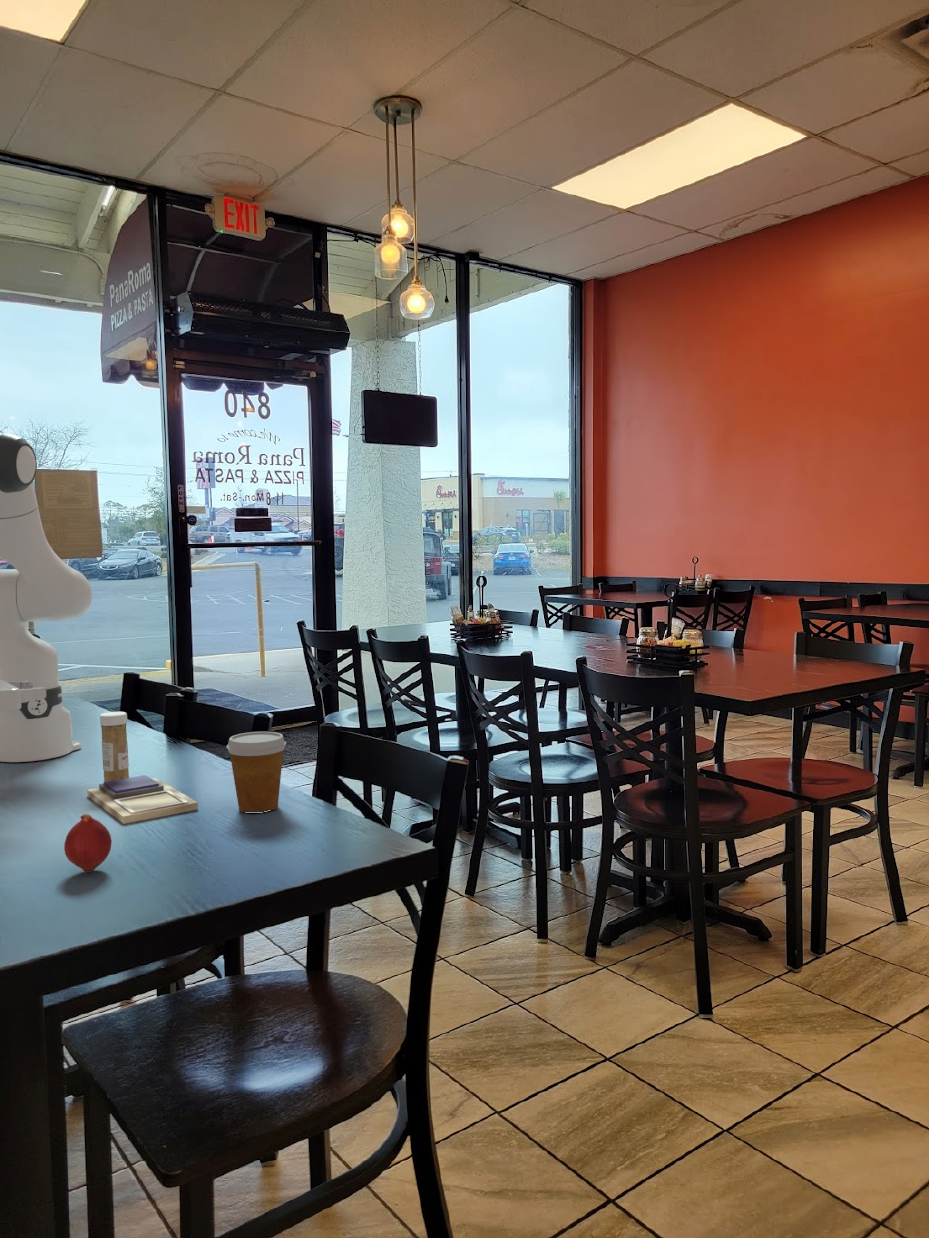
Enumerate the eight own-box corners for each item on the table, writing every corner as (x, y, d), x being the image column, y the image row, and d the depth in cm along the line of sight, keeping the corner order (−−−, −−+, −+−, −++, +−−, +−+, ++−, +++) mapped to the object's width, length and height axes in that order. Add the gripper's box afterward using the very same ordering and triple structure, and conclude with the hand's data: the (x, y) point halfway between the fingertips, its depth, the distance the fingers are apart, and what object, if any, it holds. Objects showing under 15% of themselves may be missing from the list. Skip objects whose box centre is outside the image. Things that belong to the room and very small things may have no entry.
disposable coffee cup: (216, 814, 145) (214, 741, 144) (250, 798, 154) (248, 729, 153) (267, 819, 142) (265, 745, 141) (298, 803, 151) (296, 733, 150)
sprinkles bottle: (132, 786, 162) (129, 713, 161) (106, 791, 159) (102, 716, 158) (126, 781, 166) (123, 709, 164) (100, 785, 163) (97, 712, 162)
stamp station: (87, 796, 156) (86, 782, 156) (156, 784, 163) (155, 771, 163) (123, 823, 140) (122, 809, 140) (197, 809, 148) (197, 795, 147)
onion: (78, 863, 123) (75, 806, 122) (119, 863, 123) (117, 806, 122) (57, 879, 117) (54, 819, 117) (101, 879, 117) (98, 819, 116)
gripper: (-44, 686, 137) (52, 677, 145) (-64, 672, 153) (24, 665, 161) (-42, 726, 137) (54, 715, 146) (-62, 709, 153) (26, 700, 162)
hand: (38, 689), depth 154 cm, fingers open, 8 cm apart
